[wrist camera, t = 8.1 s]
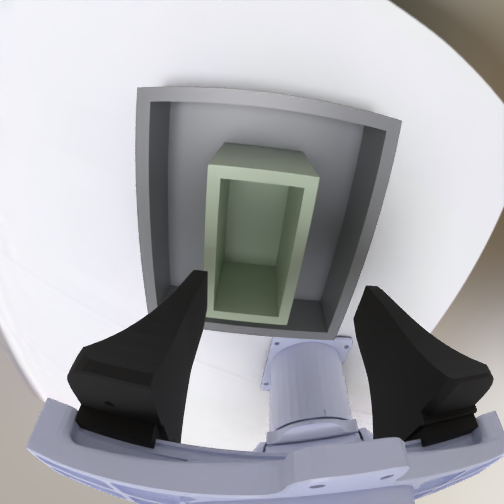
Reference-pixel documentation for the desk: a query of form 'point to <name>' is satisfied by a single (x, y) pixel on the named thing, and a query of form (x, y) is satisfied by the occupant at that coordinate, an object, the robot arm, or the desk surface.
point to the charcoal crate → (269, 135)
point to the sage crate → (256, 230)
